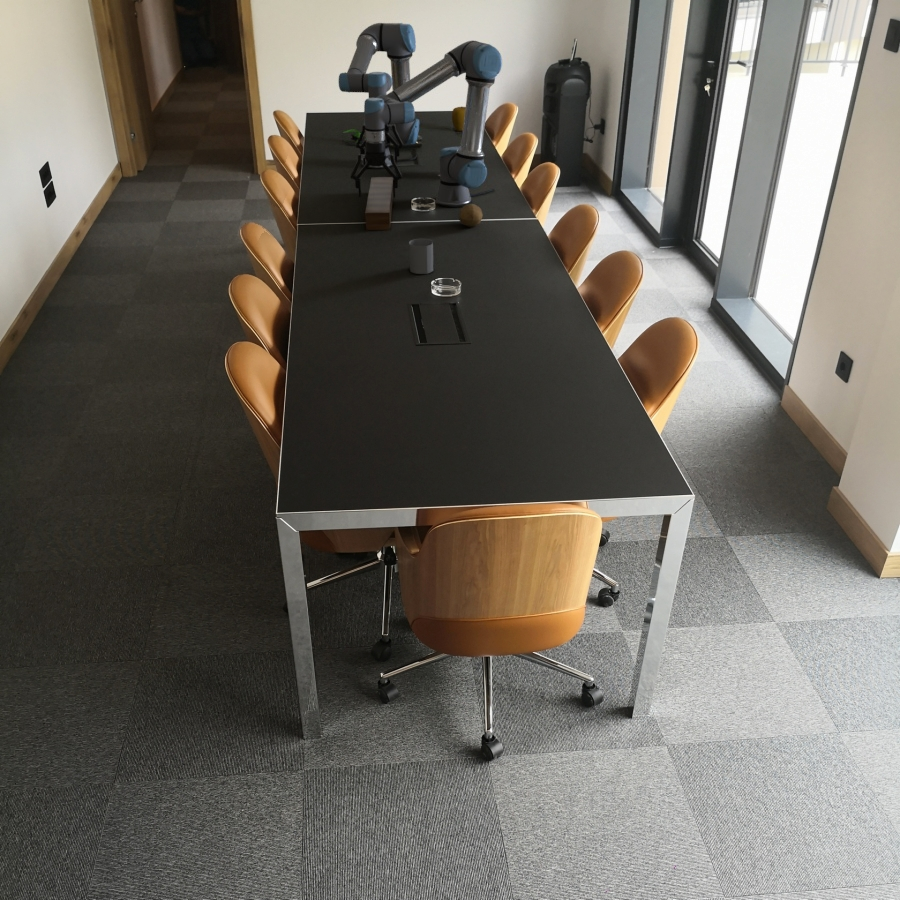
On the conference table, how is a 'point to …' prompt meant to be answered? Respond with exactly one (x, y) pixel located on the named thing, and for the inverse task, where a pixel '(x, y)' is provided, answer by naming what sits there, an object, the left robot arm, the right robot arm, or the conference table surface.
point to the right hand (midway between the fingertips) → (377, 196)
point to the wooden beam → (379, 204)
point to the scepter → (354, 136)
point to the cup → (421, 256)
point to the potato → (470, 215)
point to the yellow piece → (458, 118)
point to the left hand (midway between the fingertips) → (380, 164)
